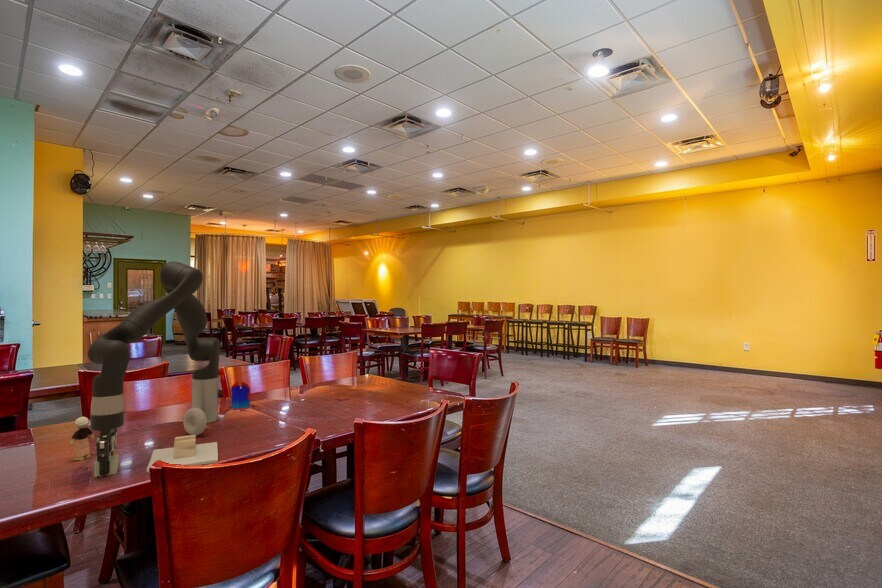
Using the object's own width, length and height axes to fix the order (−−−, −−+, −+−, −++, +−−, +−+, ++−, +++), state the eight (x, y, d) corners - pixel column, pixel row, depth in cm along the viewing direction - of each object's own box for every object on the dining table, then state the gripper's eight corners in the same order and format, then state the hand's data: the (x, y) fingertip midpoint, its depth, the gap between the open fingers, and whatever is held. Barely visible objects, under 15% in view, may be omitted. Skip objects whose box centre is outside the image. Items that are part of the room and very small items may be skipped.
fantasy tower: (219, 410, 192) (220, 383, 192) (236, 404, 203) (237, 378, 203) (244, 412, 190) (245, 384, 190) (260, 405, 201) (260, 379, 202)
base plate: (153, 452, 140) (153, 449, 140) (217, 444, 149) (217, 441, 149) (146, 472, 124) (146, 469, 124) (217, 462, 133) (217, 459, 133)
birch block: (175, 453, 138) (175, 437, 138) (195, 450, 140) (195, 434, 140) (173, 459, 133) (174, 442, 133) (194, 456, 135) (195, 439, 135)
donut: (208, 436, 157) (209, 408, 157) (199, 438, 154) (200, 410, 154) (189, 432, 161) (190, 404, 161) (180, 434, 158) (181, 407, 158)
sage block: (97, 471, 125) (97, 457, 125) (118, 468, 127) (118, 454, 127) (93, 477, 121) (94, 462, 121) (115, 474, 123) (115, 459, 123)
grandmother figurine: (83, 454, 138) (84, 413, 138) (96, 454, 138) (97, 413, 138) (64, 463, 130) (65, 420, 130) (78, 463, 130) (79, 420, 130)
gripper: (119, 415, 120) (118, 478, 119) (127, 403, 132) (126, 460, 132) (84, 418, 116) (83, 483, 116) (96, 406, 129) (95, 464, 129)
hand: (106, 470), depth 124 cm, fingers closed on sage block, 4 cm apart
